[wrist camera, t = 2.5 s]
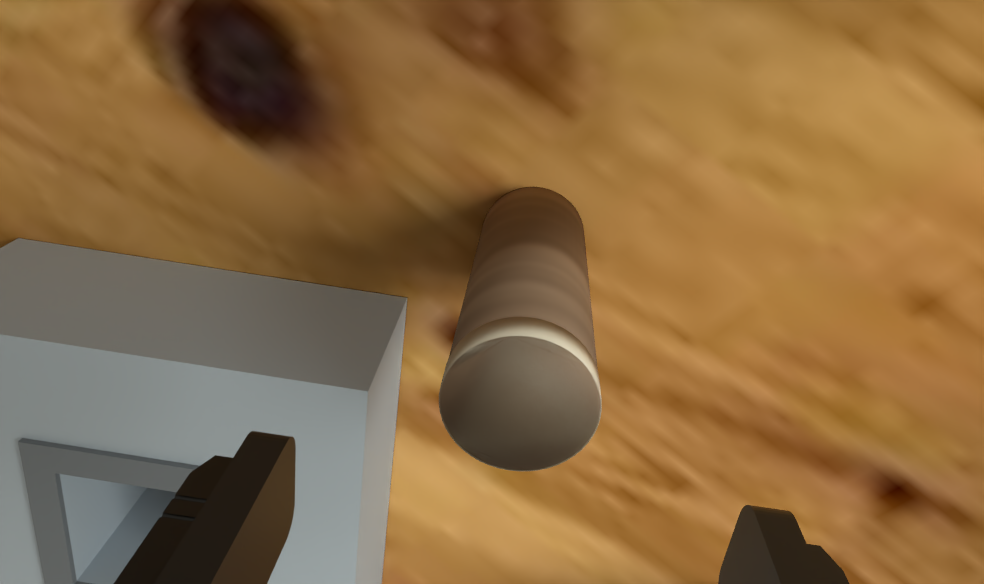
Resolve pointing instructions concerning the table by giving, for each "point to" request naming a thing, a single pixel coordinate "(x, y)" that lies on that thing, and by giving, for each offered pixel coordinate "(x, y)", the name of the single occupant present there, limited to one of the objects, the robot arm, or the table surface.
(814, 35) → the table surface
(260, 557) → the robot arm
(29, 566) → the socket block
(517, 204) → the dowel
